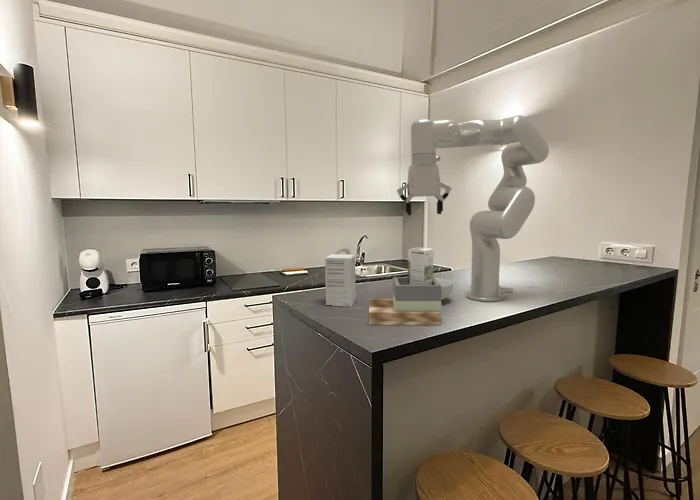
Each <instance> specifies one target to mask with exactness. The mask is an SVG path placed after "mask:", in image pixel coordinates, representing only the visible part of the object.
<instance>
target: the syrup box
mask: <svg viewBox="0 0 700 500" xmlns="http://www.w3.org/2000/svg"><path fill="white" fill-rule="evenodd" d="M434 252H435V249H434V248H430V247H425V246H424V247H423V246H419V247H413V248H409V249H407V277H408V279H407V285H433V277H434V256H435V255H434V254H435V253H434Z"/></svg>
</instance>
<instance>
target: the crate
mask: <svg viewBox="0 0 700 500" xmlns="http://www.w3.org/2000/svg"><path fill="white" fill-rule="evenodd" d="M435 278H436V277H434V276H433V285H407V279H408V276H407V277H406V276H402V277H400V276H398V277H397V276H395V277H394V276H393V278H392V279H393V280H392V281H393V282H392V285H393V287H392V288H393V289H392V290H393V291H392V299H393V309H394V312H439V313H440V319H442V300H441V285H440V284H439V283H438V282H437V280H436V279H435Z"/></svg>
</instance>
